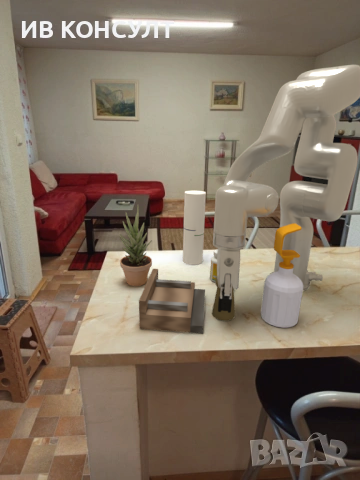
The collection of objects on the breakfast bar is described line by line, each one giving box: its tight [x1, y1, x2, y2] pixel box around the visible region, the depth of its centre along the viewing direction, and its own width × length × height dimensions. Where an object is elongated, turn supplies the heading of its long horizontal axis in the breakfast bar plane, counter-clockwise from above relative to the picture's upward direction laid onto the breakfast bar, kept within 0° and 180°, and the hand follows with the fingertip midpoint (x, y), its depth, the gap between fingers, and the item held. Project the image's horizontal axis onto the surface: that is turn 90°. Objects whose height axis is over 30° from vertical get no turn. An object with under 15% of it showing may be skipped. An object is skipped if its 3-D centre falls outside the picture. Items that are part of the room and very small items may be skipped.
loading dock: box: [138, 268, 206, 335], centre depth 81 cm, size 15×18×8 cm
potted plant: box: [119, 205, 153, 287], centre depth 94 cm, size 10×10×25 cm
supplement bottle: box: [209, 249, 218, 283], centre depth 99 cm, size 5×5×10 cm
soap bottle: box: [260, 223, 304, 328], centre depth 76 cm, size 9×9×25 cm
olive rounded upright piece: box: [211, 277, 236, 322], centre depth 80 cm, size 6×6×11 cm
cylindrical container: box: [182, 189, 207, 266], centre depth 110 cm, size 7×7×25 cm
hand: (224, 306), depth 81 cm, fingers closed on olive rounded upright piece, 4 cm apart
